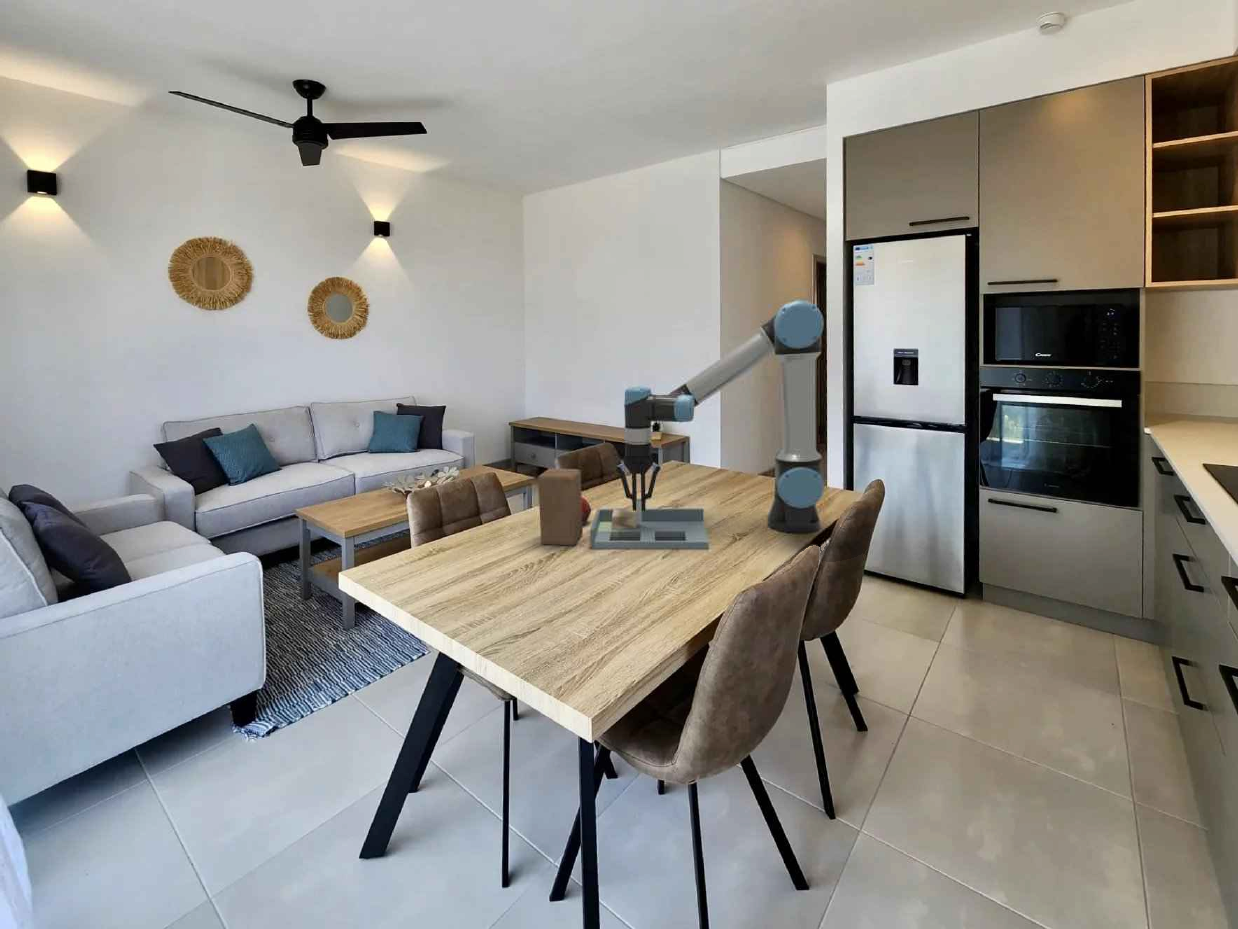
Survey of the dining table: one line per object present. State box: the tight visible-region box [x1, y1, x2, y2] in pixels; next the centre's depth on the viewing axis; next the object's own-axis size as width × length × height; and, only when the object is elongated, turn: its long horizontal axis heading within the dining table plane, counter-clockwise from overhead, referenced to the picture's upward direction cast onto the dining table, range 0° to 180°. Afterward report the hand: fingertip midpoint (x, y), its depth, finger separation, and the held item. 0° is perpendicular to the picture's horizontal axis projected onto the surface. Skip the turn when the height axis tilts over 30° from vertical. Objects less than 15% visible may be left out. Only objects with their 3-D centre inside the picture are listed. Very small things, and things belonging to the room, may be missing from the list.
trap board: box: [589, 508, 710, 550], centre depth 173 cm, size 32×20×6 cm, turn 86°
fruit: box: [581, 496, 592, 524], centre depth 187 cm, size 9×10×10 cm
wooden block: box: [537, 468, 584, 546], centre depth 170 cm, size 10×10×20 cm
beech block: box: [612, 510, 637, 530], centre depth 176 cm, size 7×7×4 cm
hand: (639, 521), depth 176 cm, fingers closed
